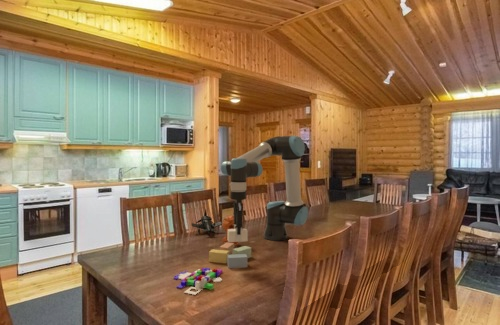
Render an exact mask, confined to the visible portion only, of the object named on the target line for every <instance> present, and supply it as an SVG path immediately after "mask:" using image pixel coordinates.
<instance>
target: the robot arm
mask: <svg viewBox="0 0 500 325" xmlns="http://www.w3.org/2000/svg"><path fill="white" fill-rule="evenodd" d="M305 150H306V147H305V142H304V140H303V138H301V136H298V135H297V136H296V135H284V136H283V135H282V136H274V137H270V138H268V139H267V140H264V141H262V142H261V143H260V144H259V145H258V146H257V147H255V148H253V149H251V150H249V151H247V152H245V153H243V154H242V155H240V156H238V157H235V158H232V159H231V161H230V160H226V161H223V162H222V163H221V165H220V171H221V174H223V175H225V176H228V177H230V183H229V187H230V190H231V191H230V200H233V215H234V224H233V225H234V229H236V235H235V241H241V231H242V229H243V209H244V204H243V202H242V201H243V200H246V199H247V178H257V177H260V176H261V175H262V174H263V170H264V169H263V166H262V164H261V163H260V161H261V160H263V159H264V158H270V157H272V156H273V157H274V156H279V157H280V156H281V160H282V161H283V163H284V174H285V175H284V177H285V178H284V179H285V192H286V201H285V200H277V201H276V200H275V201H269V202H267V204H266V226H265V229H264V232H263V238H264V239H266V240H270V241H284V240H287V239H288V231H287V228H286V224H289V225H294V226H303V225H304V224H305V223H306V221H307V219H308V217H309V209H308V207H307V206H305V203H304V201H303V200H302V194H301V193H302V191H301V176H300V174H301V173H300V161H301V159H302V156H304V154H305Z"/></svg>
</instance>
